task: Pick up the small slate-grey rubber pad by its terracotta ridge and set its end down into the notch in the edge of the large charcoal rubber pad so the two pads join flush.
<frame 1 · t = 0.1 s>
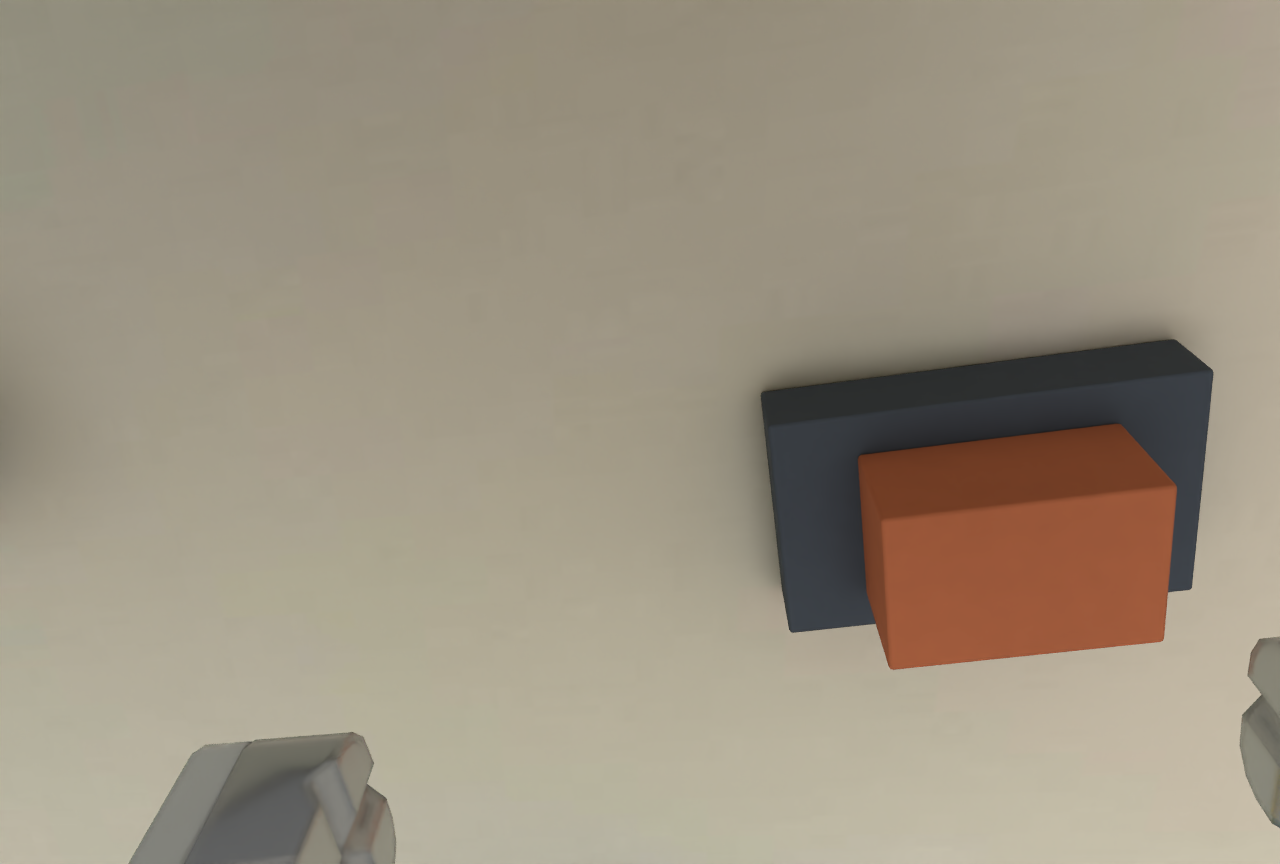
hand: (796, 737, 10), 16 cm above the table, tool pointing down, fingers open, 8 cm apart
small pad: (965, 471, 27), on the table
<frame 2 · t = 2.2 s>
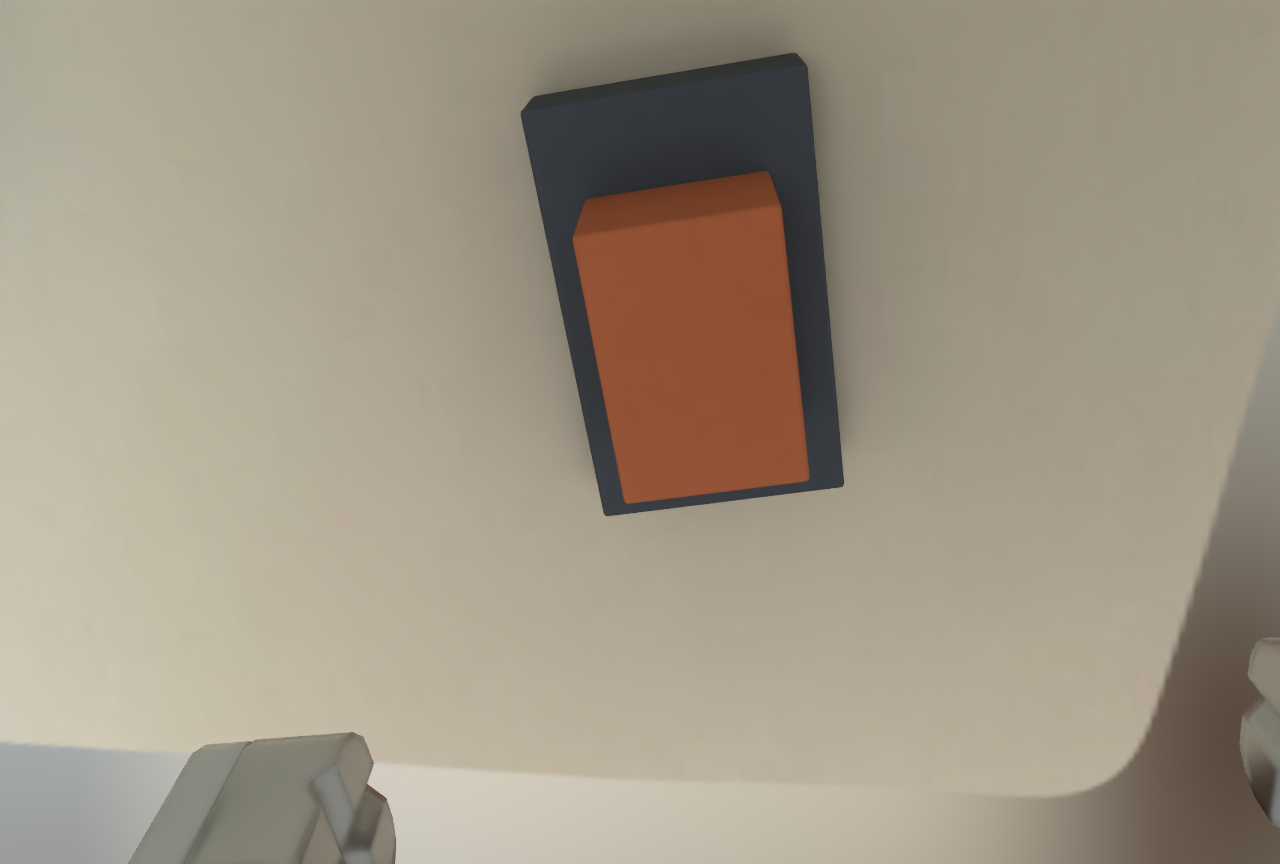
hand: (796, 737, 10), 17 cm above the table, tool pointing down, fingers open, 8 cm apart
small pad: (693, 286, 25), on the table
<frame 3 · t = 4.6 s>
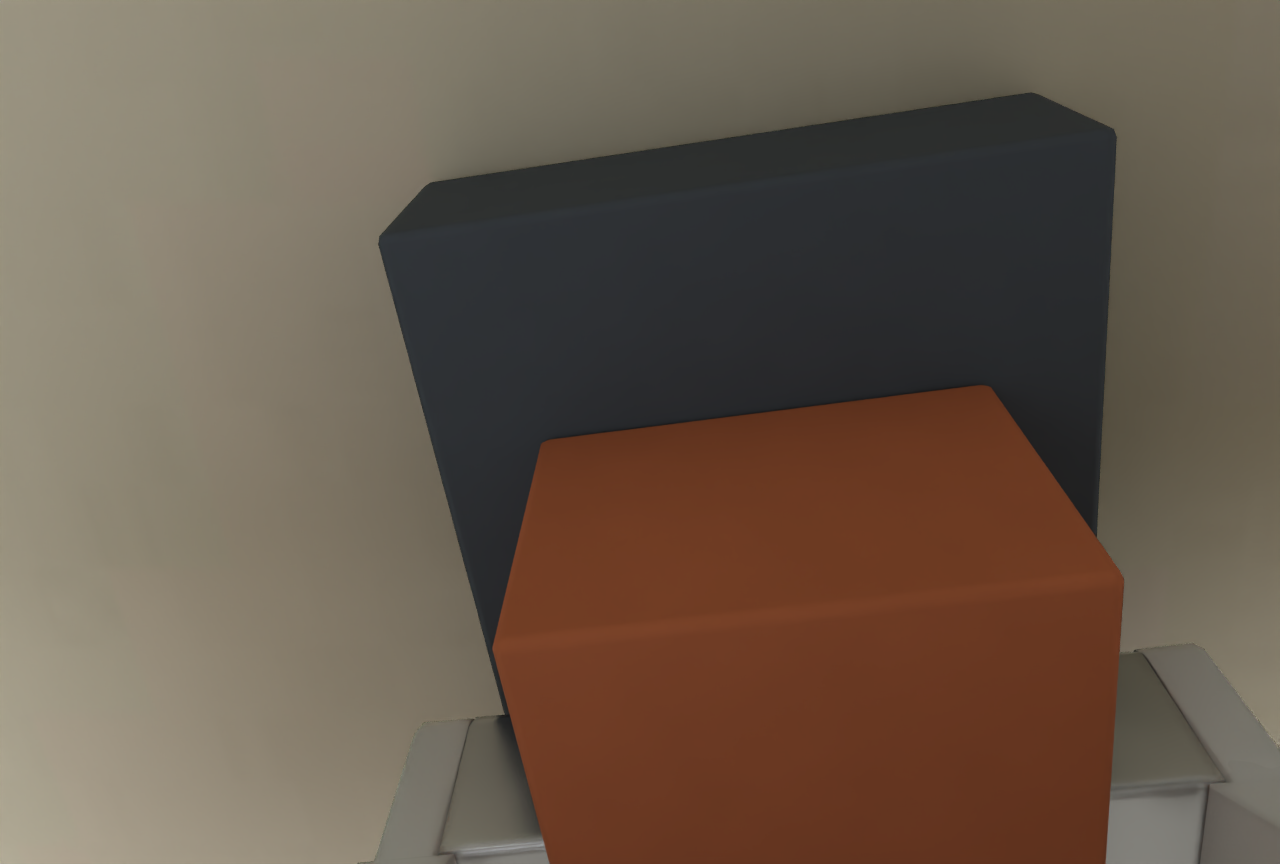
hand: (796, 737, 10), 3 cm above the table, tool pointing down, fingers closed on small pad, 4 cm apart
small pad: (771, 564, 12), on the table, touching gripper
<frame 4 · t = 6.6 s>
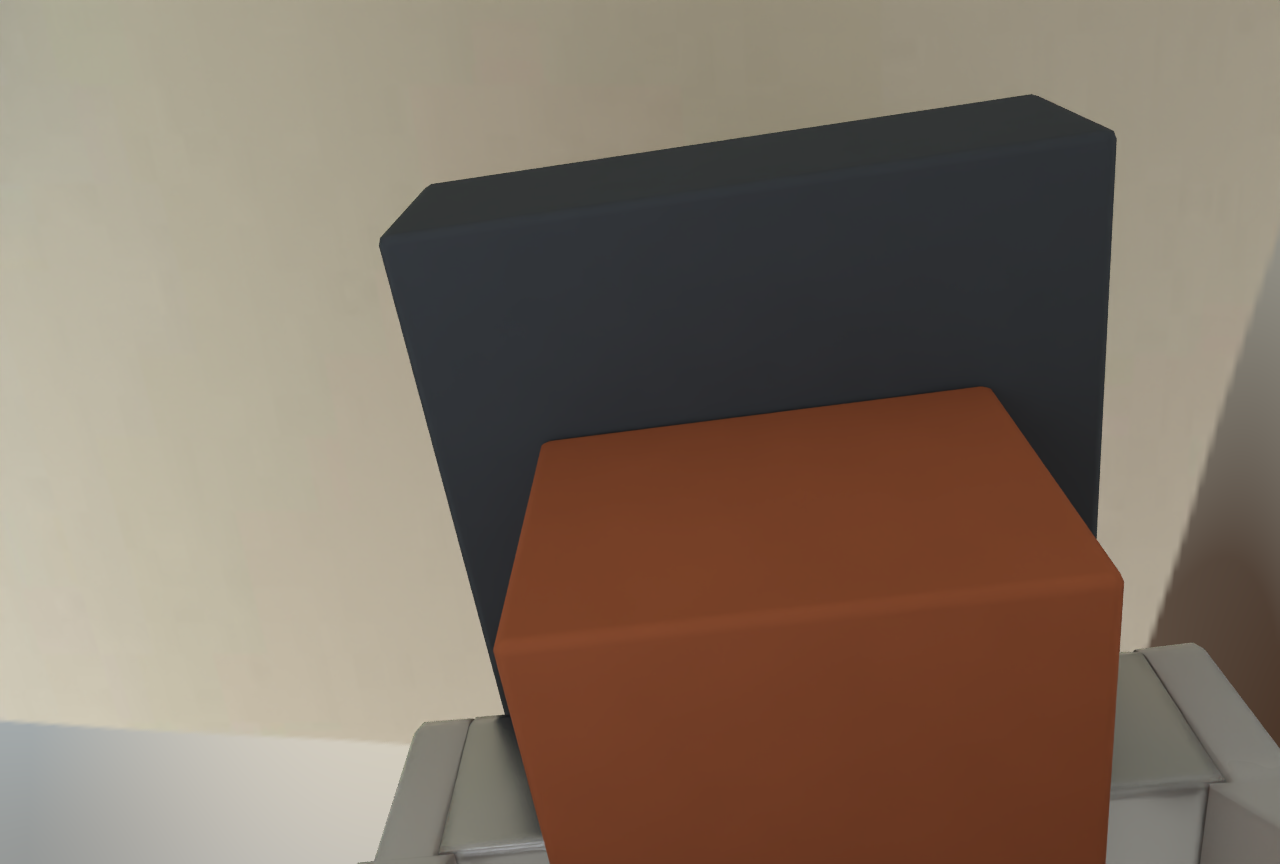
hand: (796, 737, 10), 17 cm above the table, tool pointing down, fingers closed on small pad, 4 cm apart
small pad: (771, 565, 12), point 15 cm above the table, touching gripper
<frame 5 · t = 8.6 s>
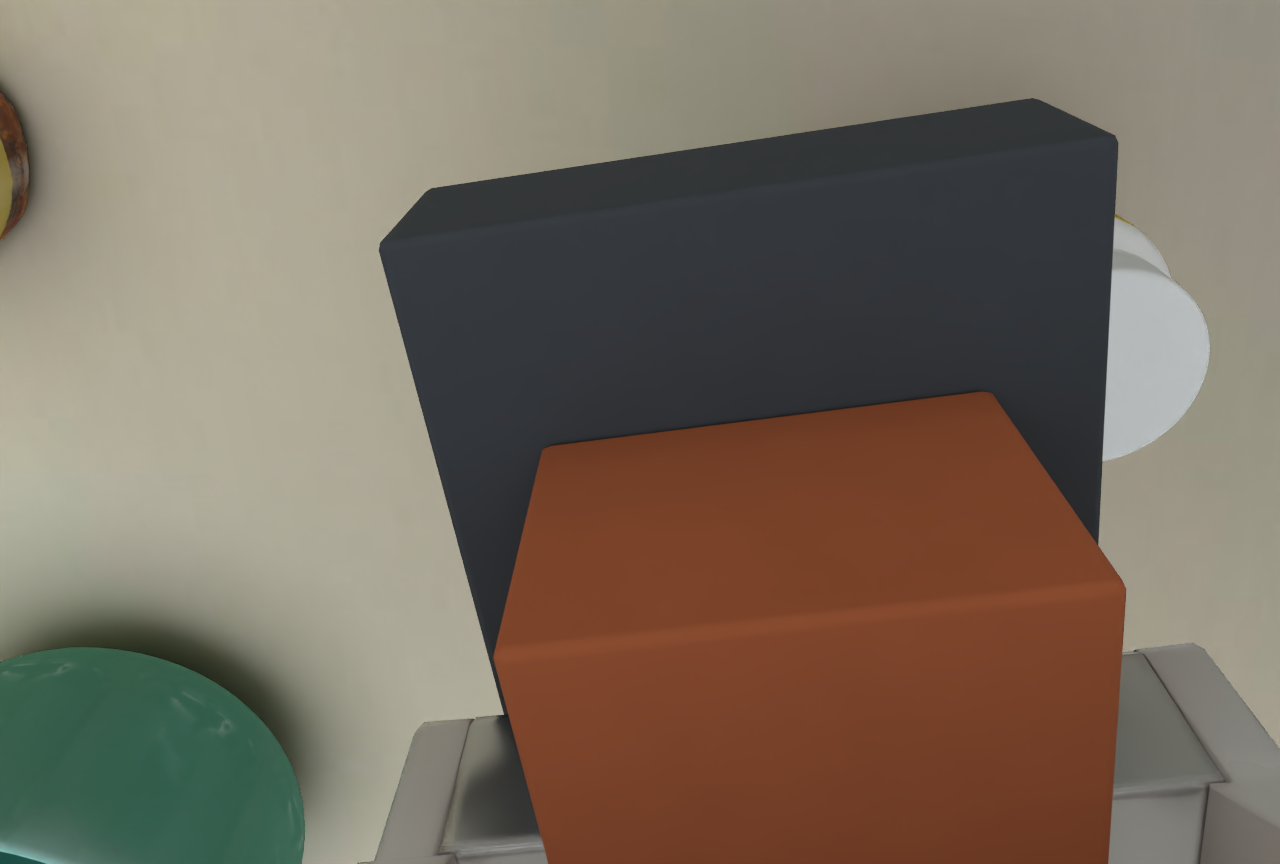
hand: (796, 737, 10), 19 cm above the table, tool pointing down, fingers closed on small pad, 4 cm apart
mug: (119, 771, 36), on the table
supplement bottle: (974, 240, 27), on the table
small pad: (772, 569, 12), point 16 cm above the table, touching gripper
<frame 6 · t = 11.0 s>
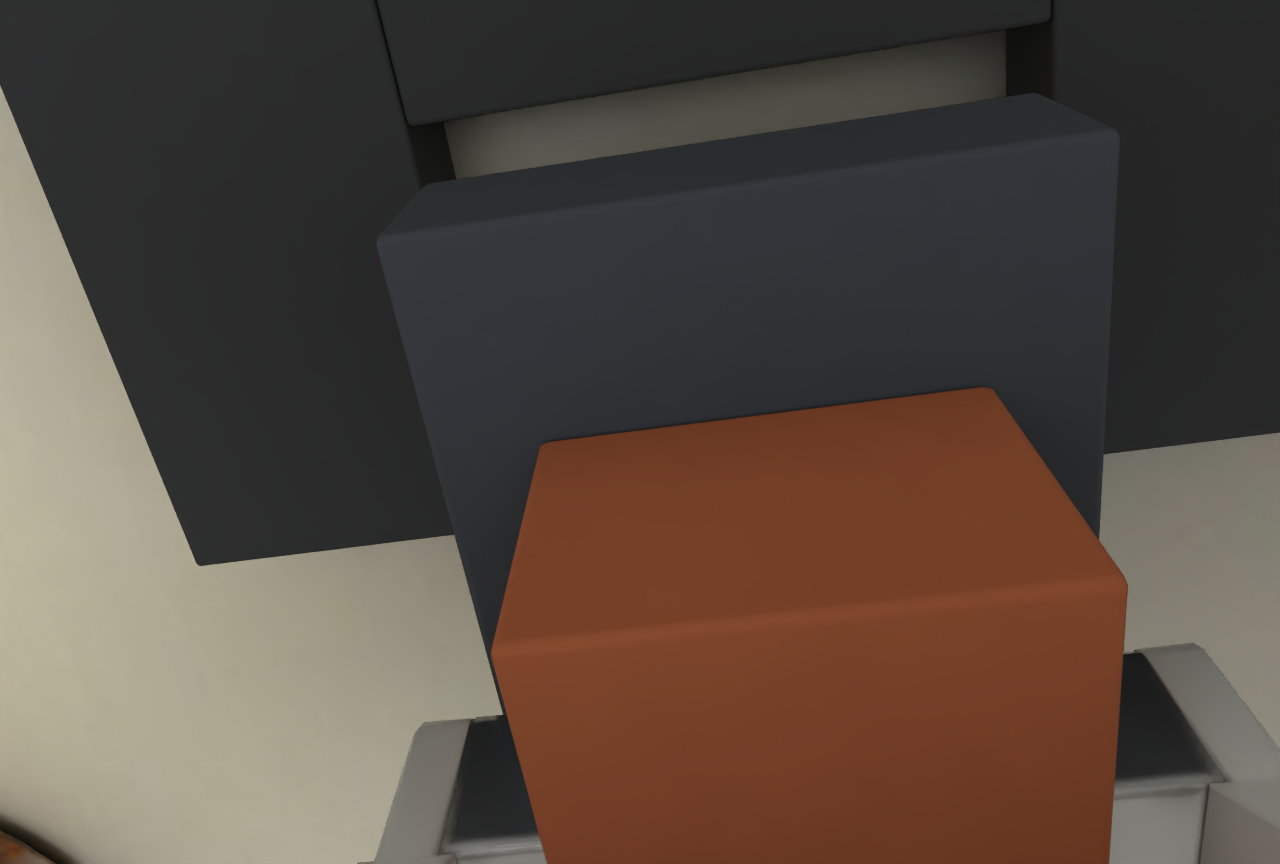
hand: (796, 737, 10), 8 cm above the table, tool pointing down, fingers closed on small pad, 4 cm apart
small pad: (772, 567, 12), point 5 cm above the table, touching gripper
when the fingers open (3 cm above the table, at t = 12.7 s): small pad stays where it is, on the table.
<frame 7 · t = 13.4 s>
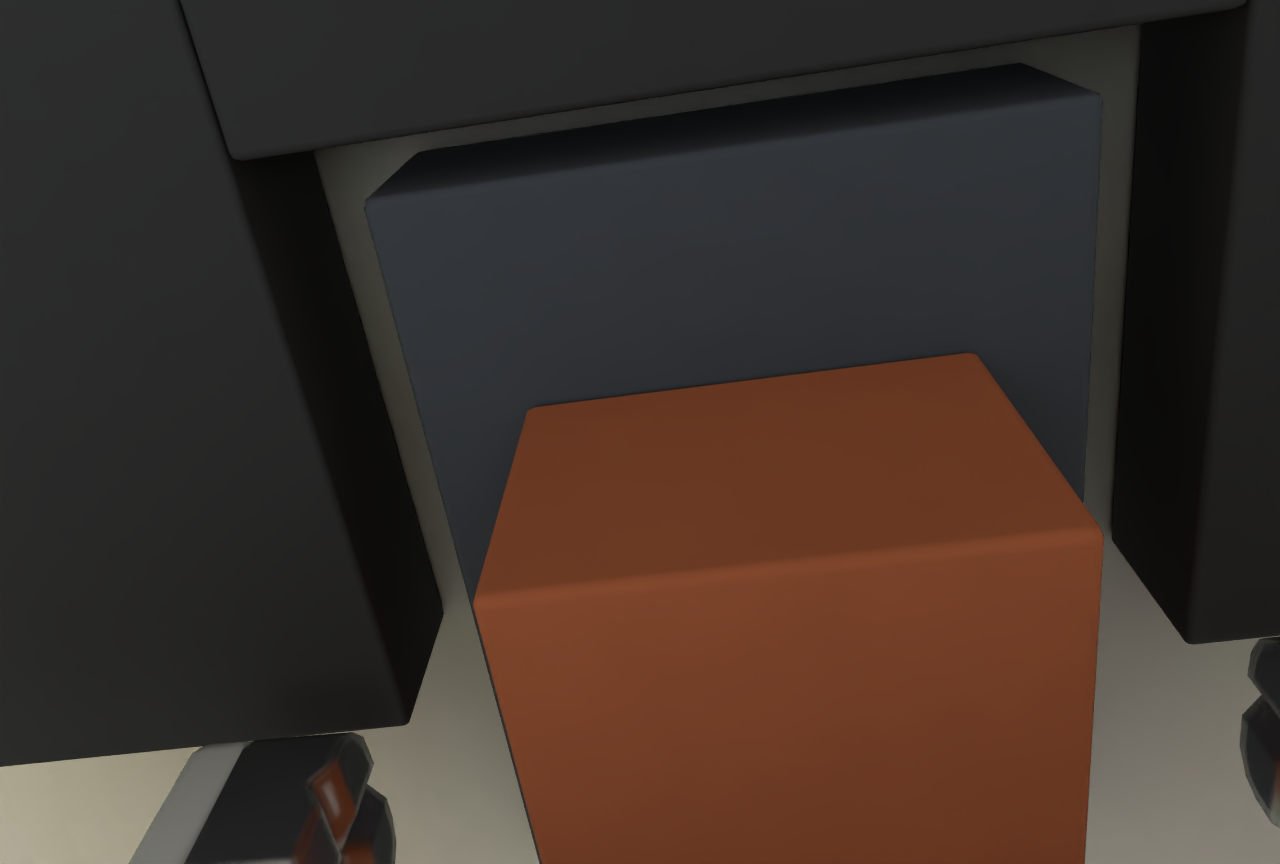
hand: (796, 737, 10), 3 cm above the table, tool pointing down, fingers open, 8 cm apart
small pad: (760, 540, 12), on the table
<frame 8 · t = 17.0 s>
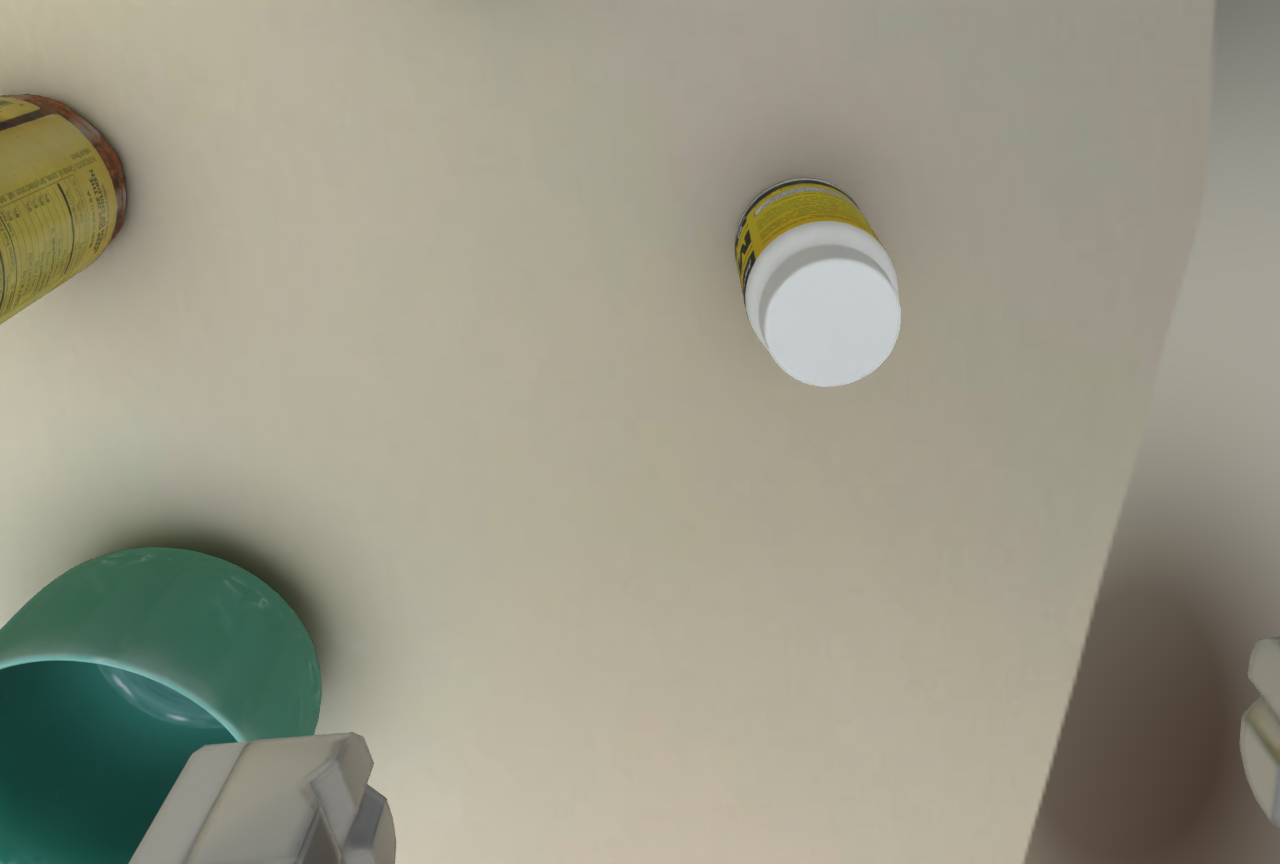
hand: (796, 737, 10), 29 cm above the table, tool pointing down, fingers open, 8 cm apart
mug: (180, 653, 46), on the table
supplement bottle: (798, 240, 37), on the table
sauce bottle: (58, 179, 37), on the table
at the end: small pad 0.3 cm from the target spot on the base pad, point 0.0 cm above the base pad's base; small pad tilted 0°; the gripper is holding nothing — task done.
